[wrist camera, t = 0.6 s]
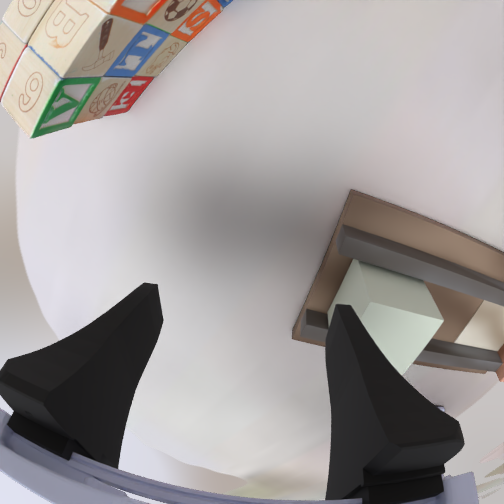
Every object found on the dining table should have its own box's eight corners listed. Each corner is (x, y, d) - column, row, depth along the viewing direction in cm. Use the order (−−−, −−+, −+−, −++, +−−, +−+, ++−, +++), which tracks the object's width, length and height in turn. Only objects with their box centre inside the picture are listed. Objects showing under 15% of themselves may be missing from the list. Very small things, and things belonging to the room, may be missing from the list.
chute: (481, 367, 24) (493, 394, 21) (292, 330, 24) (290, 368, 21) (546, 275, 18) (568, 299, 15) (351, 189, 18) (363, 212, 15)
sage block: (386, 326, 21) (400, 377, 17) (327, 312, 21) (331, 365, 17) (419, 273, 19) (443, 320, 14) (355, 253, 19) (370, 301, 14)
